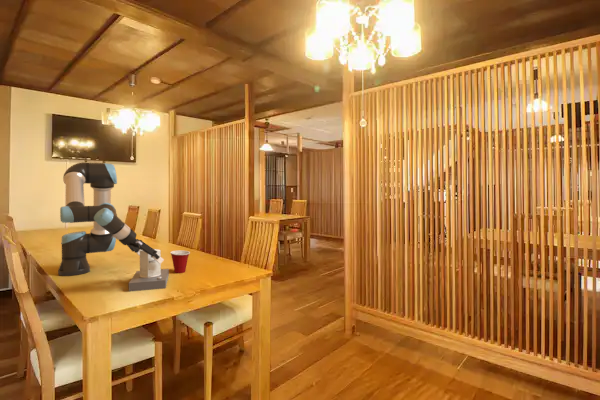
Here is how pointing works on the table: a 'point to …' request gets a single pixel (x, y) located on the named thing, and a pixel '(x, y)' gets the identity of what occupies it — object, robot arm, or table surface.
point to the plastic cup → (180, 260)
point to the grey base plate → (149, 281)
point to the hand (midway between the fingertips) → (154, 260)
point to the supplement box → (149, 264)
